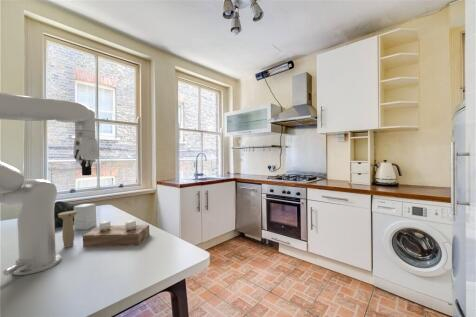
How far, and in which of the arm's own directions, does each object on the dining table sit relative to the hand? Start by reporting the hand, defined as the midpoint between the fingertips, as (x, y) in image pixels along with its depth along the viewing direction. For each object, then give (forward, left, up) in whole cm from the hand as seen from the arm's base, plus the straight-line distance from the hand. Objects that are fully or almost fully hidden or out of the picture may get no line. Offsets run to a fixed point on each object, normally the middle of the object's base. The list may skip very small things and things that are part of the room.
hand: (86, 175), depth 94 cm
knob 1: (+1, -7, -30) cm, 31 cm away
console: (+1, -13, -31) cm, 34 cm away
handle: (-4, +6, -31) cm, 32 cm away
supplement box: (+20, +16, -31) cm, 40 cm away
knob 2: (+1, -19, -30) cm, 35 cm away
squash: (+26, +34, -31) cm, 53 cm away
